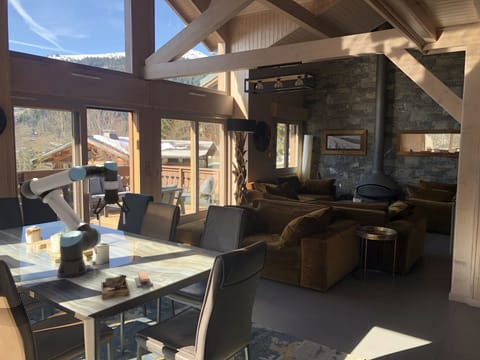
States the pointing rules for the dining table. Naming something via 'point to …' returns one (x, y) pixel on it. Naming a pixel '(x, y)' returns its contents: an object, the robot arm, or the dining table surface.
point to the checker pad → (143, 276)
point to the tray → (114, 290)
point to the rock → (115, 281)
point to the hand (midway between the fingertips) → (112, 224)
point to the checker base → (139, 284)
